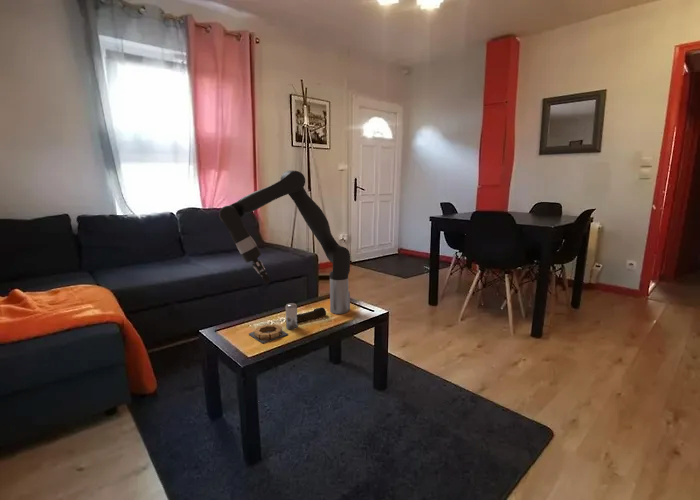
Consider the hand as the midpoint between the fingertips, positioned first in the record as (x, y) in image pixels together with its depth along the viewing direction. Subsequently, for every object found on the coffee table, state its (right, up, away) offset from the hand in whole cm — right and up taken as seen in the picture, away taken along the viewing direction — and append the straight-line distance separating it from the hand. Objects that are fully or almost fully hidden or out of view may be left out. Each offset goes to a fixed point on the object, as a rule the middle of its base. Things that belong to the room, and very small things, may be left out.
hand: (267, 281), depth 156 cm
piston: (+10, -21, +6) cm, 24 cm away
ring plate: (+1, -23, -1) cm, 23 cm away
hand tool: (+15, -20, +16) cm, 30 cm away
